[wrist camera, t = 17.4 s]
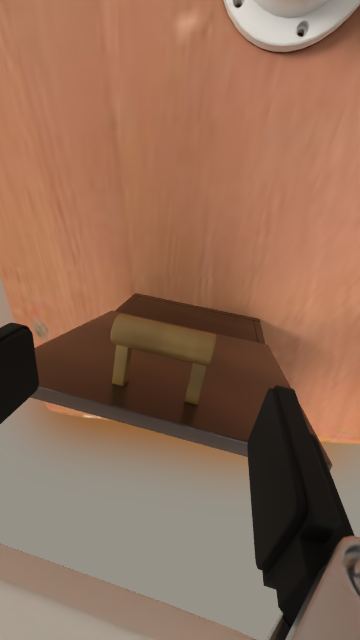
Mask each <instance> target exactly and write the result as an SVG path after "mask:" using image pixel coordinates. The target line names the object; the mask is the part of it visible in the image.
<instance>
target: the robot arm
mask: <svg viewBox="0 0 360 640" xmlns="http://www.w3.org/2000/svg"><path fill="white" fill-rule="evenodd" d="M223 1H224V4H225V7H226V10H227V12H228V15H229V17H230V18H231V20H232V22H233V23H234V25H235V27H236V28H237V30H238V31H239V32H240V33H241V34H242V35H243V36H244V37H245V38H246V39H247V40H248V41H250V42H251V43H253V44H255V45H256V46H258V47H259V48H263V49H266V50H269V51H273V52H289V51H294V50H299V49H303V48H305V47H307V46H310V45H312V44H314V43H316V42H318V41H320V40H322V39H323V38H325V37H326V36H327V35H329V34H330V33H332V32H333V31H335V30H336V29H337V28H338V27H339V26H340V25H341V24H342V23H343V22H344V21H345V20H347V19H348V18H349V17H350V16H351V15H352V14H353V12H354V11H355V10H356V9H357V7H358V6H359V5H360V0H223ZM237 5H241V7H240V8H236V6H237ZM298 33H302V34H303V37H299V36H298V35H297V34H298ZM38 387H39V377H38V370H37V363H36V356H35V349H34V342H33V335H32V332H31V331H30V329H29V328H28V327H27V326H25V325H20V324H16V323H9V324H7V325H5V326H3V327H1V328H0V424H1V423H2V422H3V421H4V420H5V419H6V418H7V417H8V416H10V415H11V414H12V413H13V412H14V411H15V410H16V409H17V408H18V407H19V406H20V405H22V404H23V403H24V402H25V401H26V400H27V399H28V398H29V397H30V396H31V395H33V394H34V393H35V392H36V391H37V389H38ZM247 451H248V464H249V476H250V491H251V505H252V517H253V532H254V546H255V559H256V565H257V568H258V569H260V570H262V571H263V582H264V586H267V587H270V588H273V589H276V590H277V599H278V607H279V608H280V610H281V611H282V612H281V614H280V615H279V618H278V619H277V621H276V623H275V625H274V626H273V628H272V630H271V632H270V634H269V636H268V637H267V639H266V640H360V537H355V536H354V533H353V531H352V528H351V525H350V523H349V520H348V518H347V515H346V512H345V510H344V508H343V505H342V502H341V500H340V497H339V494H338V492H337V489H336V487H335V484H334V481H333V479H332V476H331V474H330V471H329V468H328V466H327V463H326V461H325V458H324V455H323V453H322V450H321V448H320V445H319V443H318V440H317V438H316V437H315V436H314V435H313V434H311V433H310V432H309V429H308V427H307V424H306V421H305V418H304V416H303V413H302V410H301V407H300V405H299V402H298V399H297V396H296V394H295V391H294V390H293V389H291V388H287V387H283V386H278V385H276V386H275V387H274V388H269V389H268V391H267V393H266V396H265V398H264V401H263V403H262V406H261V409H260V411H259V414H258V416H257V419H256V421H255V424H254V426H253V429H252V431H251V434H250V436H249V439H248V445H247ZM0 640H256V639H253V638H251V637H249V636H247V635H245V634H243V633H240V632H238V631H236V630H233V629H231V628H228V627H225V626H223V625H220V624H218V623H215V622H213V621H210V620H207V619H205V618H202V617H200V616H197V615H194V614H192V613H189V612H187V611H184V610H182V609H179V608H176V607H174V606H171V605H169V604H166V603H163V602H161V601H158V600H155V599H152V598H150V597H147V596H144V595H141V594H138V593H136V592H133V591H130V590H127V589H124V588H122V587H119V586H116V585H113V584H111V583H108V582H105V581H103V580H100V579H97V578H94V577H91V576H89V575H86V574H83V573H80V572H78V571H75V570H72V569H69V568H66V567H64V566H61V565H58V564H55V563H53V562H50V561H47V560H44V559H41V558H38V557H36V556H33V555H30V554H27V553H24V552H22V551H19V550H16V549H13V548H10V547H8V546H5V545H2V544H0Z"/></svg>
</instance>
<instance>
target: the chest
mask: <svg viewBox="0 0 360 640" xmlns="http://www.w3.org/2000/svg"><path fill="white" fill-rule="evenodd" d="M115 312H120V313H125V314H129V315H134V316H138V317H143V318H147V319H152V320H156V321H161V322H166V323H170V324H175V325H179V326H184V327H188V328H193V329H197V330H202V331H207V332H211V333H216V334H220V335H225V336H229V337H234V338H238V339H243V340H248V341H252V342H257V343H261V344H265V341H264V337H263V333H262V329H261V325H260V321H259V319H256V318H251V317H246V316H242V315H237V314H232V313H227V312H222V311H217V310H213V309H208V308H203V307H198V306H193V305H189V304H184V303H179V302H174V301H169V300H165V299H160V298H155V297H150V296H145V295H141V294H136V293H135V294H134V295H133V296H132V297H131V298H129V299H128V300H127V301H126V302H125V303H124V304H123V305H121V306H120V307H119V308H118V309H117V310H116V311H115Z"/></svg>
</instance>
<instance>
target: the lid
mask: <svg viewBox="0 0 360 640" xmlns="http://www.w3.org/2000/svg"><path fill="white" fill-rule="evenodd" d="M34 349H35V356H36V363H37V370H38V377H39V387H38V389H37V391H36V392H35V393H34V394H33V395H31V396H30V397H31V398H34V399H38V400H42V401H45V402H49V403H53V404H56V405H60V406H63V407H67V408H71V409H74V410H78V411H82V412H85V413H89V414H93V415H96V416H100V417H104V418H107V419H111V420H115V421H118V422H122V423H126V424H130V425H133V426H137V427H140V428H144V429H148V430H151V431H155V432H158V433H162V434H166V435H170V436H173V437H177V438H180V439H184V440H188V441H191V442H195V443H199V444H203V445H206V446H210V447H213V448H217V449H221V450H224V451H228V452H231V453H235V454H239V455H243V456H246V457H248V451H247V445H248V439H249V436H250V434H251V431H252V429H253V426H254V424H255V421H256V419H257V416H258V414H259V411H260V409H261V406H262V403H263V401H264V398H265V396H266V393H267V391H268V389H269V388H274V387H275V386H276V385H278V386H283V387H287V388H291V387H290V385H289V384H288V382H287V380H286V378H285V376H284V374H283V372H282V371H281V369H280V367H279V365H278V363H277V361H276V359H275V358H274V356H273V354H272V352H271V350H270V348H269V346H268V345H266V344H261V343H257V342H252V341H248V340H243V339H238V338H234V337H229V336H225V335H220V334H216V333H211V332H207V331H202V330H197V329H193V328H188V327H184V326H179V325H175V324H170V323H166V322H161V321H156V320H152V319H147V318H143V317H138V316H134V315H129V314H125V313H120V312H115V311H110V312H108V313H106V314H104V315H102V316H100V317H98V318H96V319H94V320H91V321H89V322H87V323H85V324H83V325H81V326H79V327H77V328H75V329H73V330H71V331H69V332H67V333H65V334H63V335H61V336H58V337H56V338H54V339H52V340H50V341H48V342H46V343H44V344H42V345H40V346H38V347H36V348H34ZM299 405H300V404H299ZM300 407H301V406H300ZM301 410H302V413H303V416H304V418H305V421H306V424H307V427H308V429H309V432H310V433H311V434H313V435H314V436H315V437H316V438H317V440H318V443H319V445H320V448H321V450H322V453H323V455H324V458H325V461H326V463H327V466H328V468H329V471H330V469H331V467H332V463H331V461H330V459H329V458H328V456H327V454H326V452H325V450H324V448H323V447H322V445H321V443H320V441H319V439H318V437H317V435H316V434H315V432H314V430H313V428H312V426H311V424H310V422H309V421H308V419H307V417H306V415H305V413H304V411H303V409H302V408H301Z"/></svg>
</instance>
